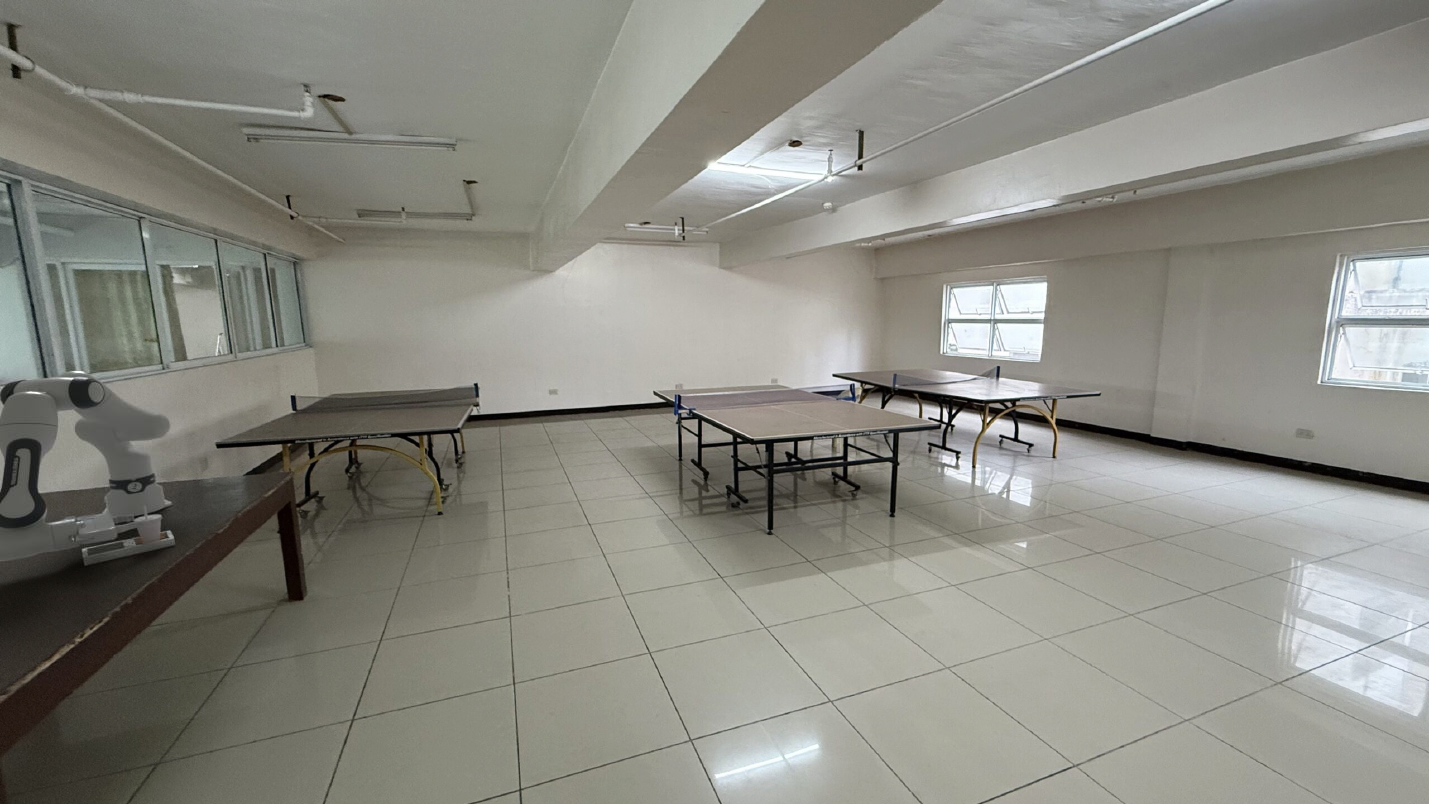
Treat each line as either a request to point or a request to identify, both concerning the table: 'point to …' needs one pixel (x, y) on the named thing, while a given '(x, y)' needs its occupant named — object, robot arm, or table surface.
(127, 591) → the table surface
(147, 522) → the smoothie
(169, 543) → the cup holder
